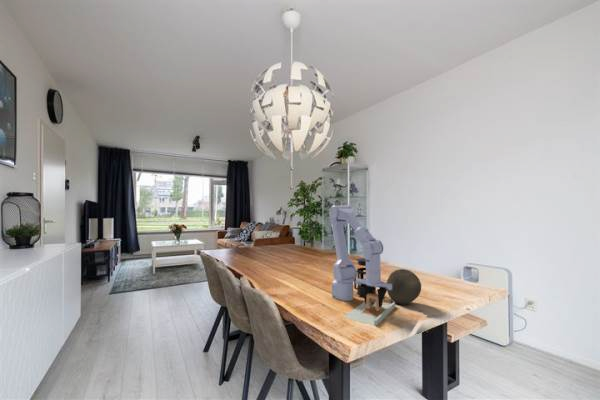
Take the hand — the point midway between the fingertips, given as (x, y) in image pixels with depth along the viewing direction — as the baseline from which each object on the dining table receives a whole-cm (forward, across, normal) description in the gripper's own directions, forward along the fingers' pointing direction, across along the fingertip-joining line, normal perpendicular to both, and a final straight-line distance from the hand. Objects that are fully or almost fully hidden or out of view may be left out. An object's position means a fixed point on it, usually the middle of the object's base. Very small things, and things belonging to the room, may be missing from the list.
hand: (373, 304), depth 108 cm
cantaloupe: (+4, +6, +19) cm, 20 cm away
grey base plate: (+4, -1, -1) cm, 4 cm away
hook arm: (+4, 0, +1) cm, 4 cm away
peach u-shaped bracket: (+2, 0, 0) cm, 2 cm away
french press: (+4, -12, +22) cm, 26 cm away
